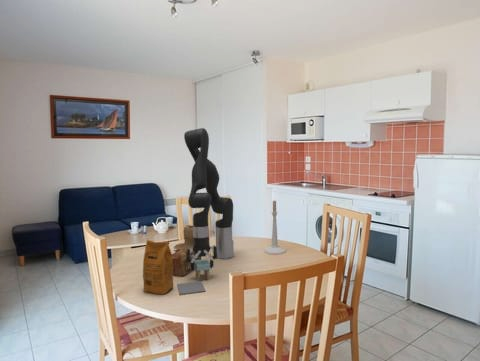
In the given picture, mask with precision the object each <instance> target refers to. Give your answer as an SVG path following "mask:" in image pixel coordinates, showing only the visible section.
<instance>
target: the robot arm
mask: <svg viewBox="0 0 480 361" xmlns="http://www.w3.org/2000/svg"><path fill="white" fill-rule="evenodd" d="M183 138H184V142H185V145H186V147H187V150H188V151H189V153H190V155H191V157H192V159H193V161H194V164H193V166H192V168H191V189H190V193H189V196H188V201H187V203H188V205H189V207H190V208H192V209H202V208H203V210H202V211H199V212H195V213H194V214H193V215H192V225H193V248H187V255H186V260H187V262H191V269H192V271H195V269H194V260H195V259H196V258H197V257H201V258H202V257H206V256H207V257H208V258H209V264H210V269H213V267H214V266H215V265H214V260H216V259H221V260H222V259H223V260H224V259H225V260H226V259H230V258H234V256H235V252H234V250H235V249H234V240H233V220H234V202H233V199H232V198H230V197H222V196H220V195H219V192H218V186H219V183H220V174H219V172H218V169H217V166H216V165H215V164H214V163H213V162H212V161H211V160H210V159H209V158H208V155H209V146H210V137H209V133H208V131H207V129H205V128H204V127H201V128H197V129H191V130H188V131H186V132H184V136H183ZM204 189H205V191H206V192H198V191H200V190H204ZM210 208H211V209H212V211H213V212H214V213H215V214H218V215H219V214H220V215H222V218H221V219H217V220H216V221H215V226H214V227H215V245H212V246H210V229H209V227H210V226H209V212H210ZM192 251H193V252H194V254H193V256H192V258H191V259H190V253H191V252H192ZM210 251H212V252H213V255H211V254H210Z"/></svg>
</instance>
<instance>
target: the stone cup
mask: <svg viewBox="0 0 480 361" xmlns="http://www.w3.org/2000/svg"><path fill="white" fill-rule="evenodd" d="M183 239H184V242H183V243H177V244H175V245H174V246H173V249H175V250H177V251H179V250H181V249H186V248H193V224H192V225H191V224H187V225H185V226H184V227H183Z"/></svg>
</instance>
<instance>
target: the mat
mask: <svg viewBox="0 0 480 361" xmlns="http://www.w3.org/2000/svg"><path fill="white" fill-rule="evenodd" d="M176 286H177V290H178V294H179V296H182V295H184V296H185V295H190V294H198V293H200V294H201V293H206V287H205V286H204V283H203V282H202V280H200V281H198V280H197V281H189V282H182V283H177V284H176Z"/></svg>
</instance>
